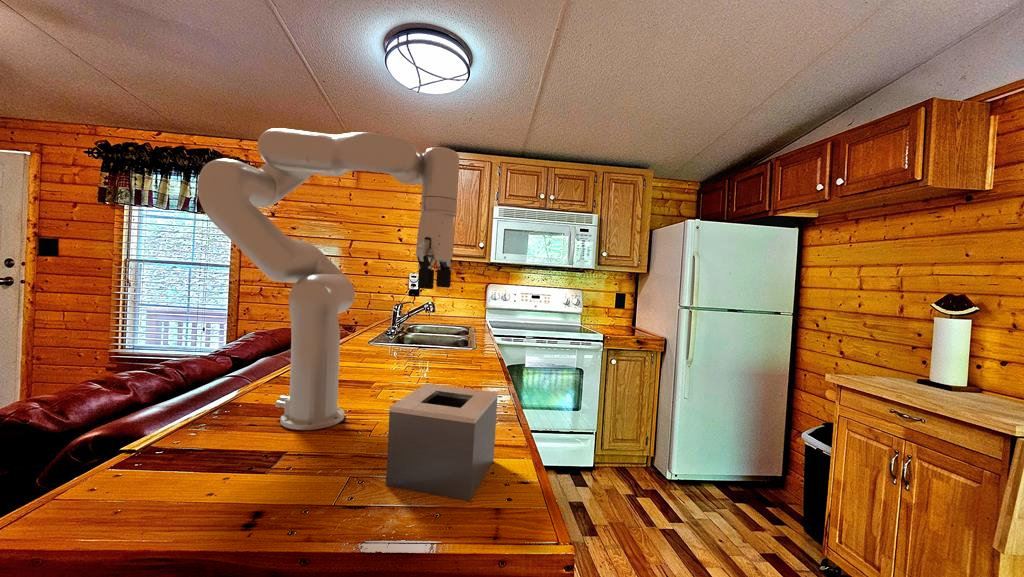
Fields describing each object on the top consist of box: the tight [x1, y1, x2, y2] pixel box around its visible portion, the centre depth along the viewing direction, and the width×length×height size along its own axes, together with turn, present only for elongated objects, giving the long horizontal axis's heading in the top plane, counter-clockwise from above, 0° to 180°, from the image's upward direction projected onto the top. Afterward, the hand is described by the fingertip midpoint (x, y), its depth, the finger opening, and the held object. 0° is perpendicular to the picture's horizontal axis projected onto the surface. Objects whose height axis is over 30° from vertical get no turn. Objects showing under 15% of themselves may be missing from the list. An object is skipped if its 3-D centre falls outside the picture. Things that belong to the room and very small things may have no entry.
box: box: [385, 383, 499, 502], centre depth 72 cm, size 14×14×13 cm
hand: (434, 287), depth 91 cm, fingers open, 9 cm apart
